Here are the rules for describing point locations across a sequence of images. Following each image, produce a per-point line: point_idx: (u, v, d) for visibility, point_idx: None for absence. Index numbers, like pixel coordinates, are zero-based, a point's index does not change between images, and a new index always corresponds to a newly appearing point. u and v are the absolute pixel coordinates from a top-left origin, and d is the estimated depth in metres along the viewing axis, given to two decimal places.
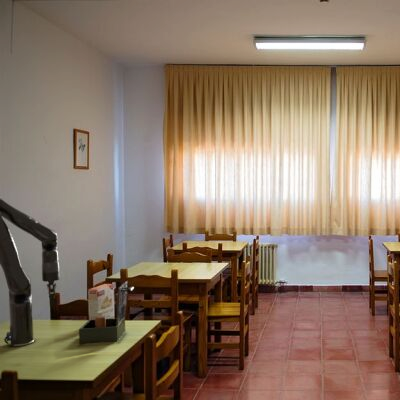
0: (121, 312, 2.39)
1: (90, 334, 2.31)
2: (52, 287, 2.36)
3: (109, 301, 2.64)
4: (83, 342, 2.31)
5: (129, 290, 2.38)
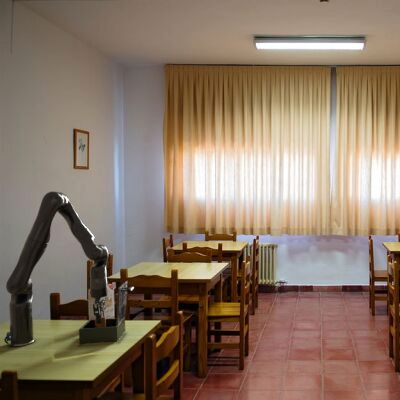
0: (121, 312, 2.39)
1: (90, 334, 2.31)
2: (96, 307, 2.32)
3: (109, 301, 2.64)
4: (83, 342, 2.31)
5: (129, 290, 2.38)
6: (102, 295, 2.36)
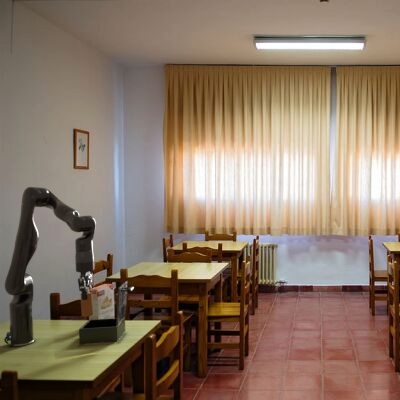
0: (121, 312, 2.39)
1: (90, 334, 2.31)
2: (81, 281, 2.16)
3: (109, 301, 2.64)
4: (83, 342, 2.31)
5: (129, 290, 2.38)
6: (88, 269, 2.20)
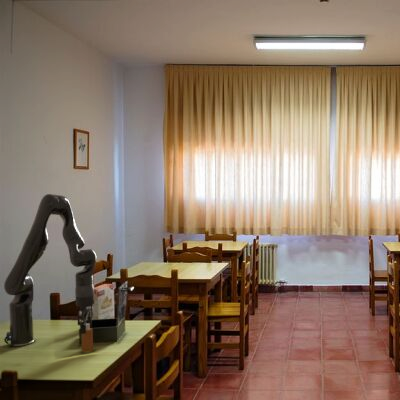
0: (121, 312, 2.39)
1: None
2: (81, 314, 2.15)
3: (109, 301, 2.64)
4: None
5: (129, 290, 2.38)
6: (88, 304, 2.19)
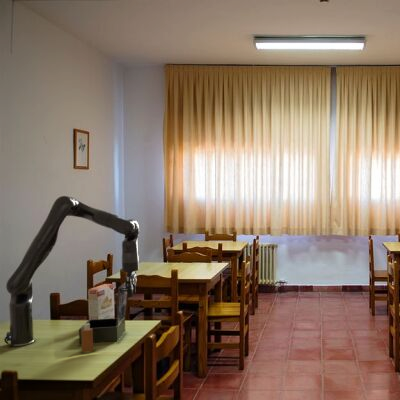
0: (121, 312, 2.39)
1: None
2: (128, 279, 2.34)
3: (109, 301, 2.64)
4: None
5: None
6: (134, 269, 2.38)
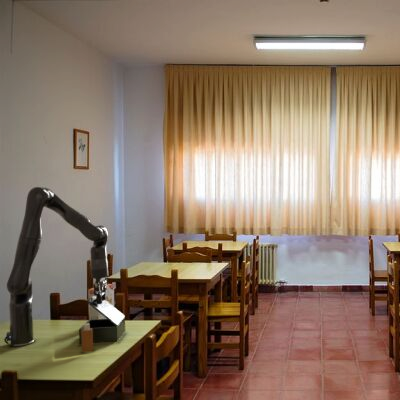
0: (113, 315, 2.38)
1: None
2: (97, 286, 2.32)
3: (109, 301, 2.64)
4: None
5: None
6: (103, 275, 2.36)
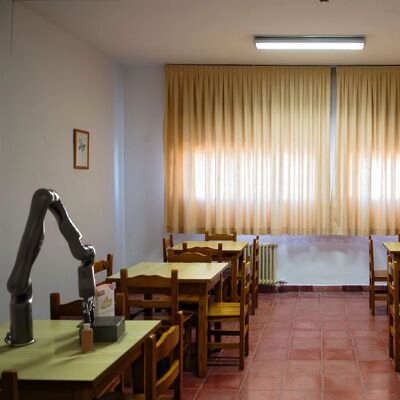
0: (109, 321, 2.38)
1: None
2: (84, 305, 2.31)
3: (109, 301, 2.64)
4: None
5: None
6: (90, 295, 2.35)
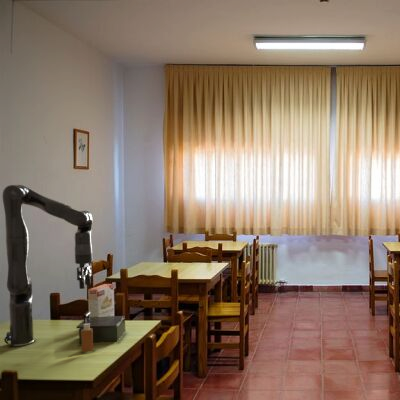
0: (109, 321, 2.38)
1: None
2: (80, 270, 2.30)
3: (109, 301, 2.64)
4: None
5: (84, 316, 2.35)
6: (87, 261, 2.34)
